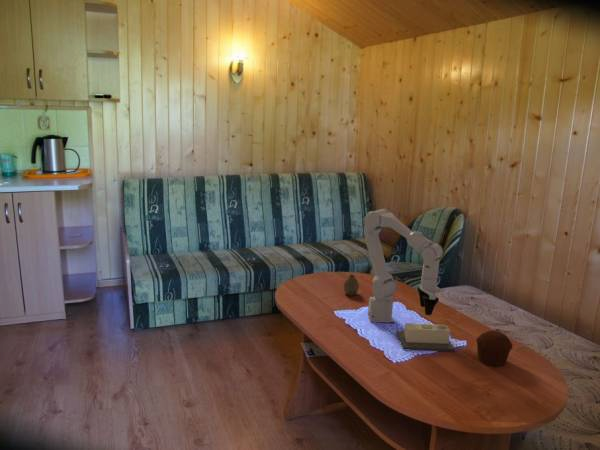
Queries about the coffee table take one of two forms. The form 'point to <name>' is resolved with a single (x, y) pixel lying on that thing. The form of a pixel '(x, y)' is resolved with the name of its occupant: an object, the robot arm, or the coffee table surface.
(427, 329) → the block with holes
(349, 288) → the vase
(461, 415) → the coffee table surface
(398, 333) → the flange base
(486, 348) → the muffin
